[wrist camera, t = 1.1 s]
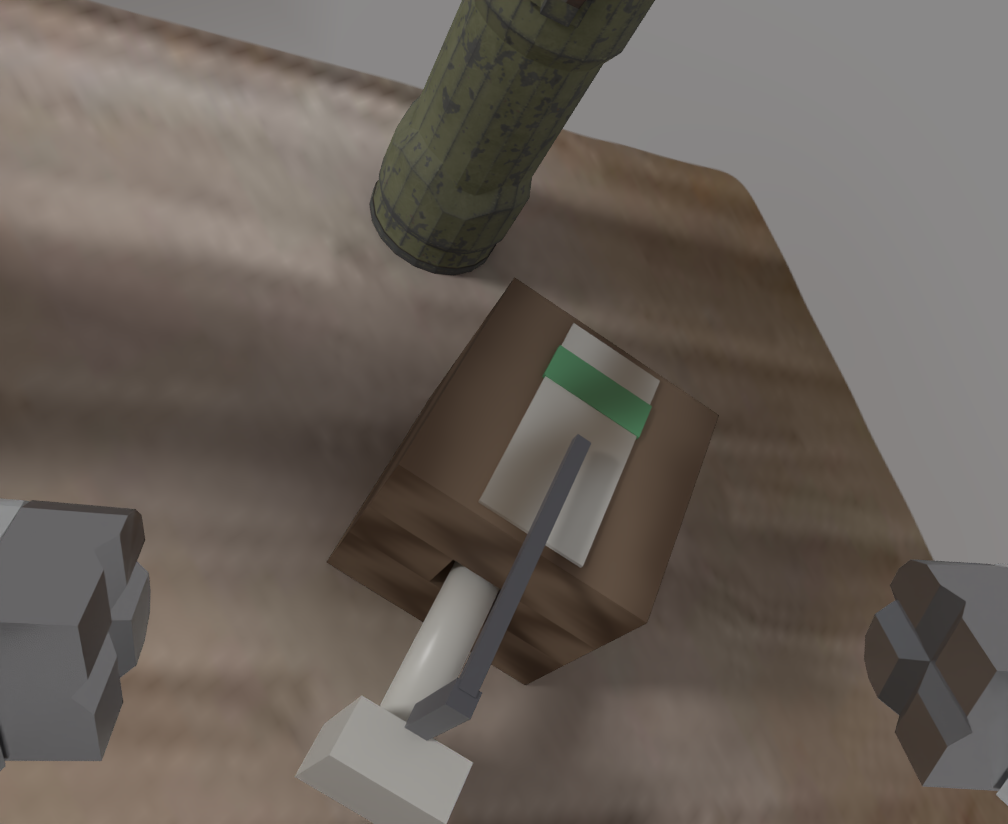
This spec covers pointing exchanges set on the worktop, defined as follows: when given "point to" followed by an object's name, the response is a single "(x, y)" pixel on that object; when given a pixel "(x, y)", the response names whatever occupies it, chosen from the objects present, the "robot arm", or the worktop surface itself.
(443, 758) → the peg
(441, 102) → the olive green tall piece
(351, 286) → the worktop surface
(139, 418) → the worktop surface
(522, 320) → the block
